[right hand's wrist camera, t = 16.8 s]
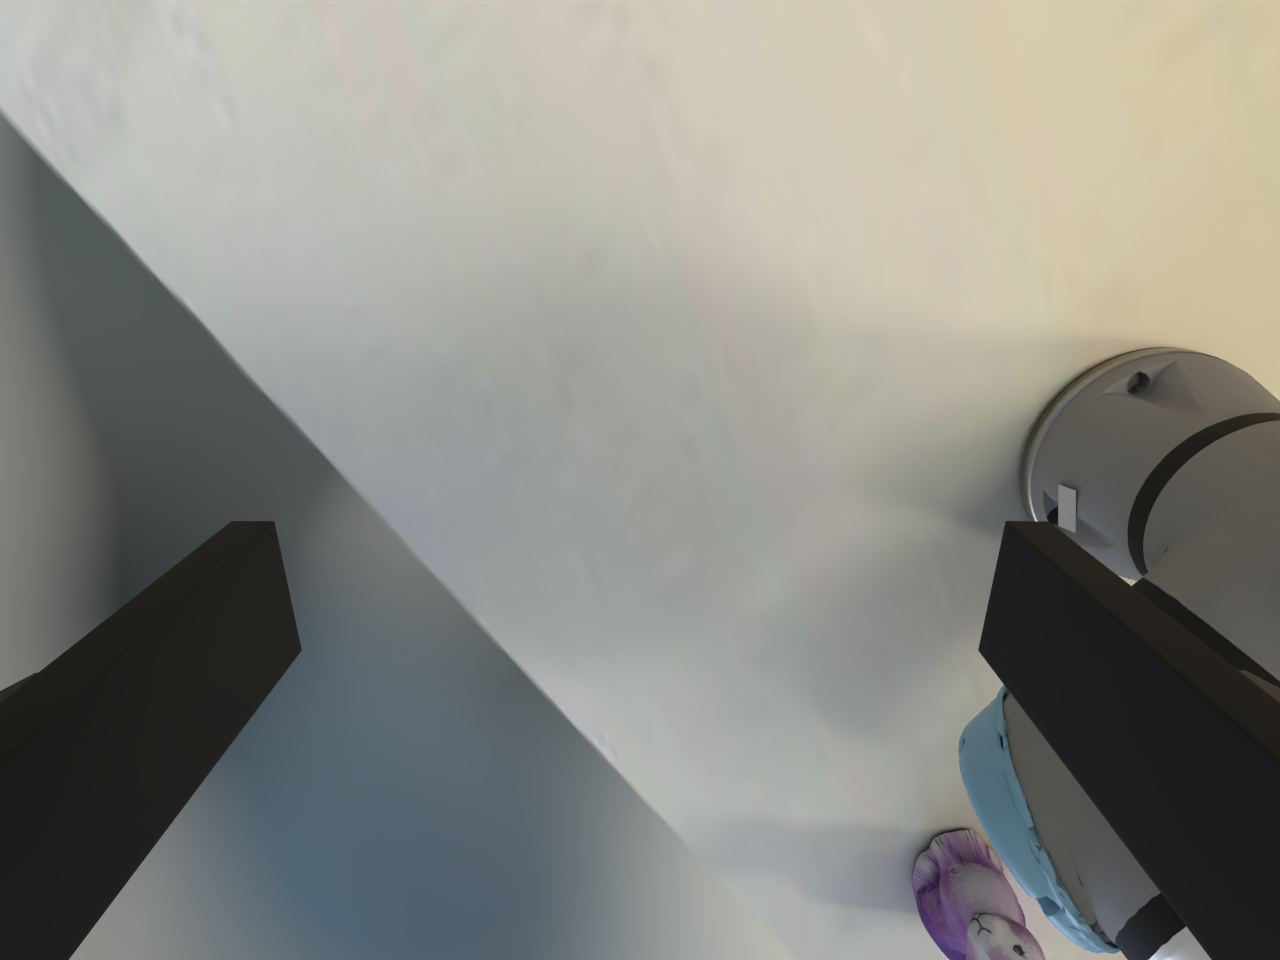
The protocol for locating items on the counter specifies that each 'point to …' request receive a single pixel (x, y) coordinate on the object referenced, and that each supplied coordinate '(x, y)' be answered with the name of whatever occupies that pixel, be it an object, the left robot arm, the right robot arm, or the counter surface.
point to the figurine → (970, 901)
